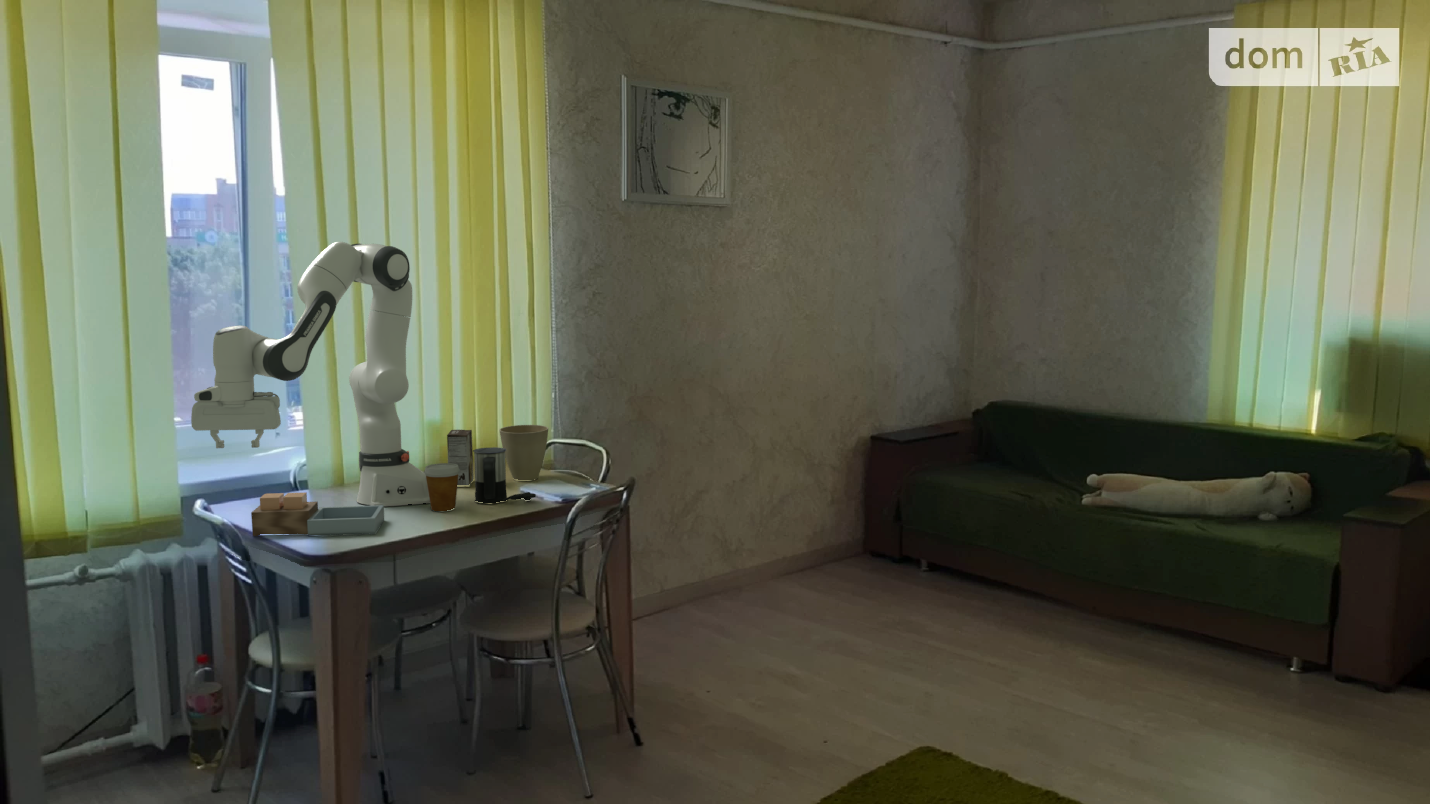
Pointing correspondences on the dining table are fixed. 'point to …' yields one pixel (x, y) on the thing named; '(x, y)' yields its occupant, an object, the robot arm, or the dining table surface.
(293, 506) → the tile
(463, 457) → the coffee box
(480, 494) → the milk frother
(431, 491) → the disposable coffee cup
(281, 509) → the brown wooden box
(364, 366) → the robot arm
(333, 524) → the box
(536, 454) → the plant pot
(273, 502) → the tile
